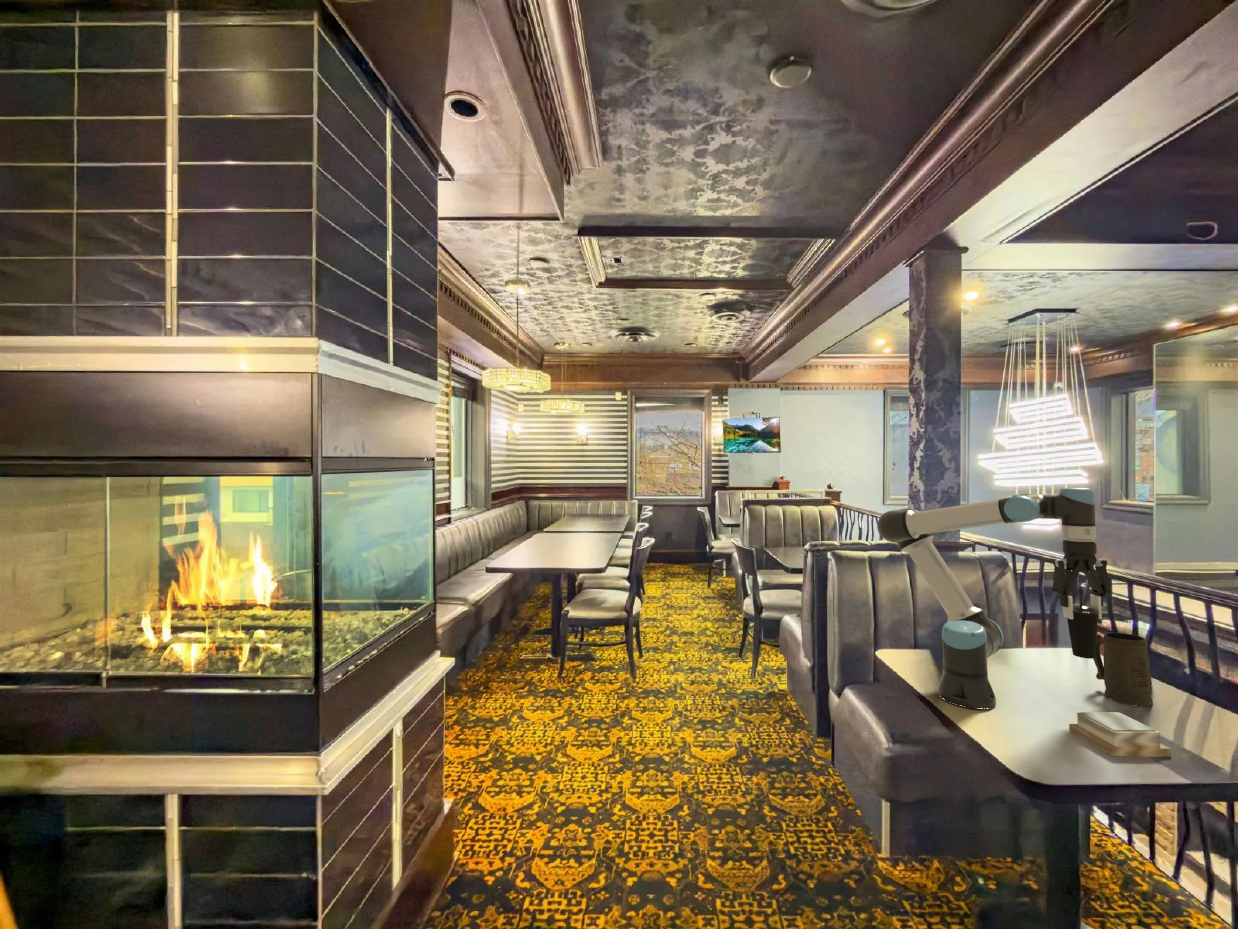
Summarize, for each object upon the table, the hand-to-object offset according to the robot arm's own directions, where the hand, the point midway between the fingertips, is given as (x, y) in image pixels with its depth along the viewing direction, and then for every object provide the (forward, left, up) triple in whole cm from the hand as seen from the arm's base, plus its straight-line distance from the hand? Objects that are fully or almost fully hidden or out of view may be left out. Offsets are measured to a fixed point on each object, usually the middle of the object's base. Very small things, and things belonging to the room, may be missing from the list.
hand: (1082, 617), depth 151 cm
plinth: (-6, -16, -28) cm, 33 cm away
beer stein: (+20, +13, -29) cm, 37 cm away
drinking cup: (0, 0, -11) cm, 11 cm away
